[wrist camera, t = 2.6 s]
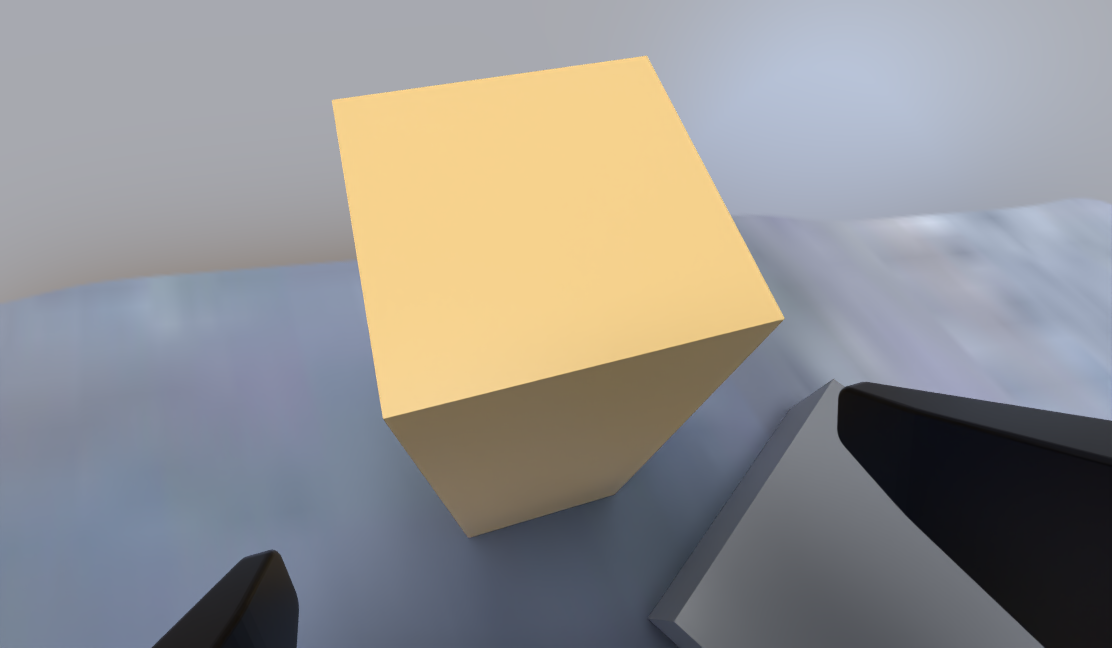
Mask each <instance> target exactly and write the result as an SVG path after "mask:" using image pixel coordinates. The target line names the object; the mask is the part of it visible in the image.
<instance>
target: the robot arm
mask: <svg viewBox="0 0 1112 648" xmlns="http://www.w3.org/2000/svg"><path fill="white" fill-rule="evenodd" d="M837 433H838V437H839V439H840V441H841V443H842V444H843V446H844V447H845V448H846V449H847V450H848V451H849V453H850V454H851V455H852V456H853V457H854V458H855V459H856V460H857V462H858V463H859V464H860V465H861V466H862V467H863V468H864V470H865V471H866V472H867V473H868V474H869V475H870V476H871V477H872V479H873V480H874V481H875V482H876V483H877V484H878V485H879V487H880V488H881V489H882V490H883V491H884V492H885V493H886V494H887V496H888V497H889V498H890V499H891V500H892V501H893V502H894V504H895V505H896V506H897V507H898V508H899V509H900V510H901V511H902V512H903V513H904V514H905V515H906V516H907V517H908V518H909V519H910V520H911V521H912V522H913V523H914V524H915V525H916V526H917V527H918V528H919V529H920V530H921V531H922V532H923V533H924V534H925V535H926V536H927V537H928V538H929V539H930V540H931V541H932V542H933V543H935V544H936V545H937V546H938V547H939V548H940V549H941V550H942V551H943V552H944V553H945V554H946V555H947V556H948V557H949V558H950V559H951V560H952V561H953V562H955V563H956V564H957V565H958V566H959V567H960V568H961V569H962V570H963V571H964V572H965V573H966V574H967V575H968V576H969V577H970V578H971V579H972V580H973V581H975V582H976V583H977V584H978V585H979V586H980V587H981V588H982V589H983V590H984V591H985V592H986V593H987V594H988V595H989V596H990V597H991V598H992V599H993V600H995V601H996V602H997V603H998V604H999V605H1000V606H1001V607H1002V608H1003V609H1004V610H1005V611H1006V612H1007V613H1008V614H1009V615H1010V616H1011V617H1012V618H1013V619H1015V620H1016V621H1017V622H1018V623H1019V624H1020V625H1021V626H1022V627H1023V628H1024V629H1025V630H1026V631H1027V632H1028V633H1029V634H1030V635H1031V636H1032V637H1033V638H1035V639H1036V640H1037V641H1038V642H1039V643H1040V644H1041V645H1042V646H1043V647H1044V648H1112V421H1110V420H1104V419H1097V418H1091V417H1085V416H1078V415H1072V414H1066V413H1060V412H1053V411H1047V410H1041V409H1034V408H1028V407H1022V406H1015V405H1009V404H1003V403H997V402H990V401H984V400H978V399H971V398H965V397H959V396H952V395H946V394H940V393H934V392H927V391H921V390H915V389H908V388H902V387H896V386H889V385H883V384H877V383H870V382H860V383H857V384H853V385H850V386H846V387H844V388H843V389H841V390H840V392H839V395H838V414H837ZM298 617H299V604H298V598H297V594H296V591H295V589H294V586H293V584H292V581H291V579H290V576H289V574H288V571H287V569H286V567H285V564H284V562H283V559H282V557H281V555H280V554H279V553H278V552H277V551H275V550H268V551H265V552H261V553H258V554H254V555H250V556H247V557H245V558H243V559H242V560H240V561H239V562H238V563H237V564H236V565H235V566H234V567H233V568H232V569H231V570H230V571H229V572H228V573H227V574H226V575H225V576H224V577H223V578H222V579H221V580H220V581H219V582H218V583H217V584H216V585H215V586H214V587H213V588H212V589H211V590H210V591H209V592H208V593H207V594H206V595H205V596H204V597H203V598H202V599H201V600H200V601H199V602H198V603H197V604H196V605H195V606H194V607H193V608H191V609H190V610H189V611H188V612H187V613H186V614H185V615H184V616H183V617H182V618H181V619H180V620H179V621H178V622H177V623H176V624H175V625H174V626H173V627H172V628H171V629H170V630H169V631H168V632H167V633H166V634H165V635H164V636H163V637H162V638H161V639H160V640H159V641H158V642H157V643H156V644H155V645H154V646H153V647H152V648H297V633H298Z"/></svg>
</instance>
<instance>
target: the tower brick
mask: <svg viewBox="0 0 1112 648" xmlns="http://www.w3.org/2000/svg"><path fill="white" fill-rule="evenodd" d="M332 104H333V109H334V116H335V123H336V129H337V135H338V141H339V147H340V153H341V159H342V166H343V172H344V179H345V185H346V191H347V197H348V204H349V209H350V215H351V222H352V228H353V235H354V241H355V247H356V253H357V260H358V266H359V272H360V278H361V284H362V291H363V297H364V303H365V309H366V316H367V322H368V328H369V334H370V340H371V347H372V353H373V359H374V365H375V372H376V378H377V384H378V390H379V397H380V403H381V409H382V415H383V419H384V421H385V422H386V424H387V425H388V426H389V428H390V429H391V431H392V432H393V433H394V435H395V436H396V438H397V439H398V440H399V442H400V443H401V445H402V446H403V447H404V449H405V450H406V452H407V453H408V454H409V456H410V457H411V459H412V460H413V461H414V463H415V464H416V466H417V467H418V468H419V470H420V471H421V473H422V474H423V475H424V477H425V478H426V479H427V481H428V482H429V484H430V485H431V486H432V488H433V489H434V491H435V492H436V493H437V495H438V496H439V498H440V499H441V500H442V502H443V503H444V505H445V506H446V507H447V509H448V510H449V512H450V513H451V514H452V516H453V517H454V519H455V520H456V521H457V523H458V524H459V526H460V527H461V528H462V530H463V531H464V533H465V534H466V535H467V537H468V538H470V537H474V536H477V535H480V534H484V533H487V532H490V531H494V530H497V529H501V528H504V527H507V526H511V525H514V524H517V523H521V522H524V521H527V520H531V519H534V518H538V517H541V516H544V515H548V514H551V513H554V512H558V511H561V510H564V509H568V508H571V507H575V506H578V505H581V504H585V503H588V502H591V501H595V500H598V499H601V498H605V497H608V496H611V495H615V494H616V493H617V492H618V491H619V490H620V489H621V488H622V487H623V485H624V484H625V483H626V482H627V481H628V480H629V479H630V478H631V477H632V476H633V475H634V474H635V473H636V472H637V471H638V470H639V469H640V468H641V467H642V466H643V465H644V464H645V463H646V462H647V461H648V460H649V459H650V458H651V457H652V455H653V454H654V453H655V452H656V451H657V450H658V449H659V448H660V447H661V446H662V445H663V444H664V443H665V442H666V441H667V440H668V439H669V438H670V437H671V436H672V435H673V434H674V433H675V432H676V431H677V430H678V429H679V428H680V427H681V425H682V424H683V423H684V422H685V421H686V420H687V419H688V418H689V417H690V416H691V415H692V414H693V413H694V412H695V411H696V410H697V409H698V408H699V407H700V406H701V405H702V404H703V403H704V402H705V401H706V400H707V399H708V398H709V397H710V395H711V394H712V393H713V392H714V391H715V390H716V389H717V388H718V387H719V386H720V385H721V384H722V383H723V382H724V381H725V380H726V379H727V378H728V377H729V376H730V375H731V374H732V373H733V372H734V371H735V370H736V369H737V368H738V367H739V366H740V364H741V363H742V362H743V361H744V360H745V359H746V358H747V357H748V356H749V355H750V354H751V353H752V352H753V351H754V350H755V349H756V348H757V347H758V346H759V345H760V344H761V343H762V342H763V341H764V340H765V339H766V338H767V337H768V336H769V334H770V333H771V332H772V331H773V330H774V329H775V328H776V327H777V326H778V325H779V324H780V323H781V322H782V321H783V320H784V319H785V318H784V316H783V315H782V313H781V311H780V309H779V307H778V305H777V303H776V301H775V299H774V297H773V295H772V294H771V292H770V290H769V288H768V286H767V284H766V282H765V280H764V278H763V276H762V274H761V273H760V271H759V269H758V267H757V265H756V263H755V261H754V259H753V257H752V255H751V253H750V252H749V250H748V248H747V246H746V244H745V242H744V240H743V238H742V236H741V234H740V233H739V231H738V229H737V227H736V225H735V223H734V221H733V219H732V217H731V215H730V213H729V212H728V210H727V208H726V206H725V204H724V202H723V200H722V198H721V196H720V195H719V192H718V191H717V189H716V187H715V185H714V183H713V181H712V179H711V177H710V175H709V174H708V171H707V170H706V168H705V166H704V164H703V162H702V160H701V158H700V156H699V155H698V152H697V150H696V149H695V147H694V145H693V143H692V141H691V139H690V137H689V135H688V133H687V131H686V130H685V128H684V126H683V124H682V122H681V120H680V118H679V116H678V115H677V112H676V110H675V109H674V107H673V105H672V103H671V101H670V99H669V97H668V95H667V93H666V92H665V89H664V88H663V86H662V84H661V82H660V80H659V78H658V76H657V74H656V72H655V70H654V69H653V67H652V65H651V63H650V61H649V59H648V57H647V56H642V57H635V58H628V59H620V60H613V61H606V62H599V63H592V64H586V65H578V66H571V67H564V68H556V69H549V70H543V71H535V72H528V73H521V74H514V75H507V76H500V77H493V78H485V79H478V80H471V81H464V82H457V83H450V84H443V85H436V86H428V87H422V88H414V89H407V90H400V91H394V92H386V93H379V94H372V95H365V96H358V97H350V98H343V99H336V100H332Z"/></svg>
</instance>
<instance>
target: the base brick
mask: <svg viewBox="0 0 1112 648" xmlns="http://www.w3.org/2000/svg"><path fill="white" fill-rule="evenodd" d="M843 388H844V386H843V385H841V384H840V383H839V382H837V381H836V380H834V379H833V380H831V381H830V382H828V383H827V384H825V385H824V386H823V387H821V388H820V389H818V390H817V391H815V392H814V393H812V394H811V395H810V396H808V397H807V398H805V399H804V400H802V401H801V402H799V403H798V404H797V405H795V406H794V407H792V408H791V409H790V410H789V411H788V413H787V414H786V416H785V417H784V419H783V420H782V421H781V423H780V424H779V426H778V427H777V429H776V430H775V432H774V433H773V435H772V436H771V438H770V439H769V441H768V442H767V443H766V445H765V446H764V448H763V449H762V451H761V452H760V454H759V455H758V457H757V458H756V460H755V461H754V463H753V464H752V466H751V467H750V468H749V470H748V471H747V473H746V474H745V476H744V477H743V479H742V480H741V482H740V483H739V485H738V486H737V488H736V489H735V491H734V492H733V493H732V495H731V496H730V498H729V499H728V501H727V502H726V504H725V505H724V507H723V508H722V510H721V511H720V513H719V514H718V516H717V517H716V518H715V520H714V521H713V523H712V524H711V526H710V527H709V529H708V530H707V532H706V533H705V535H704V536H703V538H702V539H701V541H700V542H699V543H698V545H697V546H696V548H695V549H694V551H693V552H692V554H691V555H690V557H689V558H688V560H687V561H686V563H685V564H684V566H683V567H682V568H681V570H680V571H679V573H678V574H677V576H676V577H675V579H674V580H673V582H672V583H671V585H670V586H669V588H668V589H667V590H666V592H665V593H664V595H663V596H662V598H661V599H660V601H659V602H658V604H657V605H656V607H655V608H654V610H653V611H652V613H651V614H650V615H649V617H648V619H649V620H650V621H651V622H652V623H653V624H654V625H656V626H657V627H658V628H659V629H660V630H661V631H662V632H663V633H664V634H665V635H666V636H667V637H669V638H670V639H671V640H672V641H673V642H674V643H675V644H676V645H677V646H678V647H679V648H1044V647H1043V646H1042V645H1041V644H1040V643H1039V642H1038V641H1037V640H1036V639H1035V638H1033V637H1032V636H1031V635H1030V634H1029V633H1028V632H1027V631H1026V630H1025V629H1024V628H1023V627H1022V626H1021V625H1020V624H1019V623H1018V622H1017V621H1016V620H1015V619H1013V618H1012V617H1011V616H1010V615H1009V614H1008V613H1007V612H1006V611H1005V610H1004V609H1003V608H1002V607H1001V606H1000V605H999V604H998V603H997V602H996V601H995V600H993V599H992V598H991V597H990V596H989V595H988V594H987V593H986V592H985V591H984V590H983V589H982V588H981V587H980V586H979V585H978V584H977V583H976V582H975V581H973V580H972V579H971V578H970V577H969V576H968V575H967V574H966V573H965V572H964V571H963V570H962V569H961V568H960V567H959V566H958V565H957V564H956V563H955V562H953V561H952V560H951V559H950V558H949V557H948V556H947V555H946V554H945V553H944V552H943V551H942V550H941V549H940V548H939V547H938V546H937V545H936V544H935V543H933V542H932V541H931V540H930V539H929V538H928V537H927V536H926V535H925V534H924V533H923V532H922V531H921V530H920V529H919V528H918V527H917V526H916V525H915V524H914V523H913V522H912V521H911V520H910V519H909V518H908V517H907V516H906V515H905V514H904V513H903V512H902V511H901V510H900V509H899V508H898V507H897V506H896V505H895V504H894V502H893V501H892V500H891V499H890V498H889V497H888V496H887V494H886V493H885V492H884V491H883V490H882V489H881V488H880V487H879V485H878V484H877V483H876V482H875V481H874V480H873V479H872V477H871V476H870V475H869V474H868V473H867V472H866V471H865V470H864V468H863V467H862V466H861V465H860V464H859V463H858V462H857V460H856V459H855V458H854V457H853V456H852V455H851V454H850V453H849V451H848V450H847V449H846V448H845V447H844V446H843V444H842V443H841V441H840V439H839V437H838V433H837V414H838V395H839V392H840V390H841V389H843Z"/></svg>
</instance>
